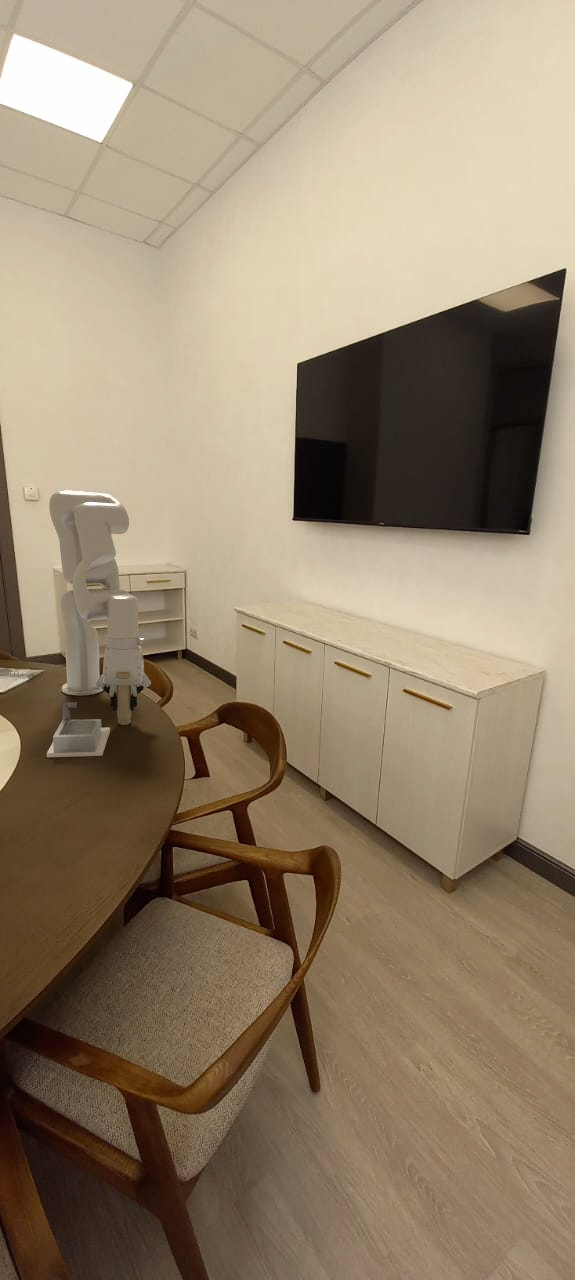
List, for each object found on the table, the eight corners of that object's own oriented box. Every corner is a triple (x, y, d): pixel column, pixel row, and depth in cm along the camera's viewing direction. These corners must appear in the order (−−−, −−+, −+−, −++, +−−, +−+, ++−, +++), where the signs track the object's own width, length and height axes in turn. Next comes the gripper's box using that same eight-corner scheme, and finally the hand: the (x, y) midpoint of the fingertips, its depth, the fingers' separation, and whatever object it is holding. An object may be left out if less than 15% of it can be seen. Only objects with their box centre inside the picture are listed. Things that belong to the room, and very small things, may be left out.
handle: (133, 718, 142) (132, 666, 139) (133, 727, 137) (133, 673, 133) (114, 719, 141) (114, 666, 138) (114, 728, 135) (113, 673, 132)
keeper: (60, 732, 131) (59, 699, 129) (110, 731, 133) (109, 699, 131) (46, 757, 118) (45, 721, 116) (102, 755, 120) (101, 720, 118)
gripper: (157, 639, 139) (156, 703, 143) (91, 638, 135) (93, 704, 140) (155, 646, 132) (155, 713, 136) (86, 645, 128) (88, 714, 133)
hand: (124, 708), depth 138 cm, fingers closed on handle, 3 cm apart
